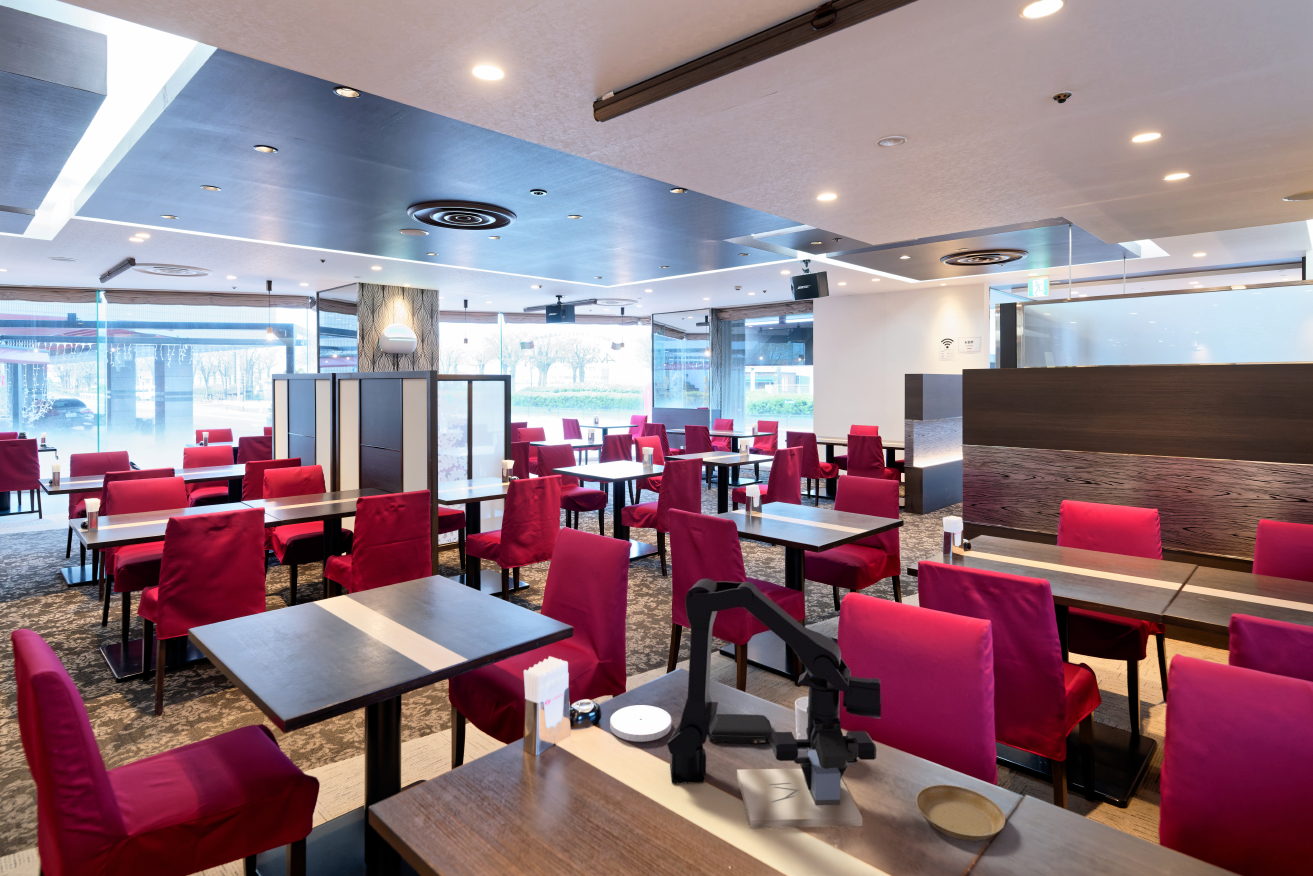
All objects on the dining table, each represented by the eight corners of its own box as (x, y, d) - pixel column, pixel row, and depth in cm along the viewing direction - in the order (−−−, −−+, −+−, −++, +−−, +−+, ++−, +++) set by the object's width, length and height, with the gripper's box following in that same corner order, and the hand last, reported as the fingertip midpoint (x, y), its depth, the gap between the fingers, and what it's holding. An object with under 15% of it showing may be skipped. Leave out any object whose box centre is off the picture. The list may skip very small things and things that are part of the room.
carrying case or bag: (706, 747, 148) (774, 749, 147) (707, 734, 148) (775, 735, 147) (705, 723, 159) (768, 725, 158) (705, 711, 158) (769, 712, 158)
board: (750, 828, 120) (750, 820, 120) (737, 776, 136) (737, 769, 136) (862, 826, 121) (862, 818, 121) (835, 775, 137) (835, 767, 137)
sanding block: (815, 805, 125) (816, 773, 124) (804, 780, 132) (805, 750, 132) (839, 804, 125) (840, 773, 124) (827, 779, 133) (828, 750, 132)
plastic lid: (604, 743, 150) (604, 732, 149) (616, 713, 163) (616, 703, 163) (667, 748, 148) (667, 737, 147) (674, 717, 161) (674, 707, 161)
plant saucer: (1001, 861, 112) (1001, 846, 112) (907, 831, 120) (908, 816, 120) (1008, 813, 125) (1008, 800, 125) (923, 789, 133) (923, 776, 132)
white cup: (828, 740, 150) (829, 697, 150) (834, 760, 142) (835, 714, 142) (792, 738, 151) (793, 695, 150) (796, 758, 143) (797, 712, 143)
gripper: (783, 731, 119) (782, 816, 120) (888, 729, 120) (886, 814, 121) (770, 702, 130) (769, 780, 131) (867, 700, 131) (864, 778, 132)
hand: (821, 788), depth 129 cm, fingers closed on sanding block, 4 cm apart
